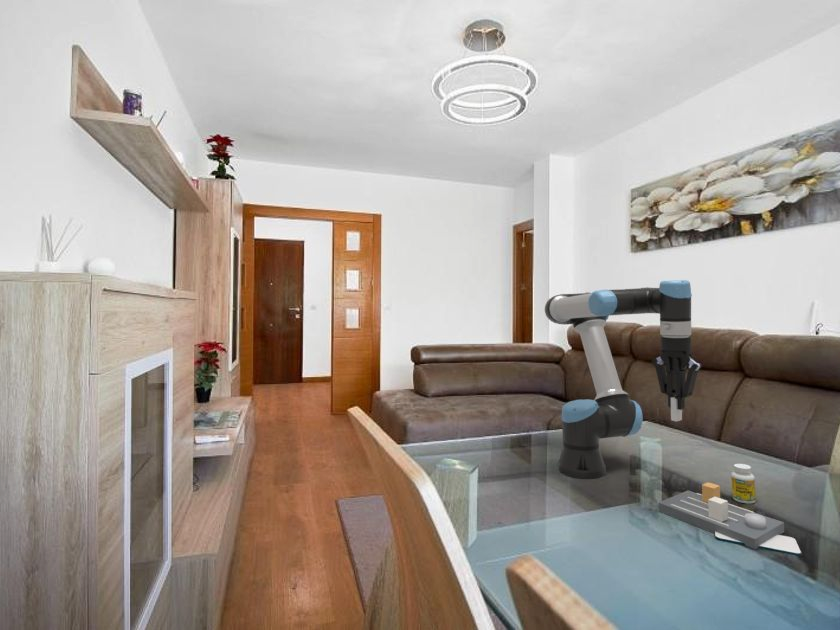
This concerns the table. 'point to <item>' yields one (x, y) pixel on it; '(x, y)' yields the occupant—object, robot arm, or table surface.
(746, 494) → the supplement bottle
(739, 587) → the table surface
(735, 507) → the console
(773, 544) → the smartphone
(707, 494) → the slider orange
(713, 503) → the slider ivory
